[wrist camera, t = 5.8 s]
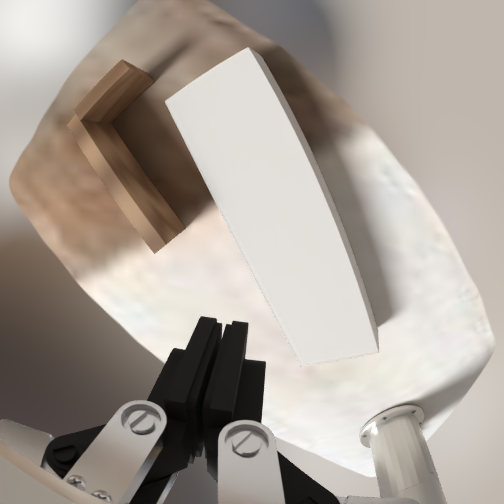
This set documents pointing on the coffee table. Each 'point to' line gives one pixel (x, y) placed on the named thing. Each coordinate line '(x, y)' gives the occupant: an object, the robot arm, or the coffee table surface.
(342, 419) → the coffee table surface
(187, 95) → the decorative molding
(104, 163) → the wooden corner bracket
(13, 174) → the coffee table surface
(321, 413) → the coffee table surface
